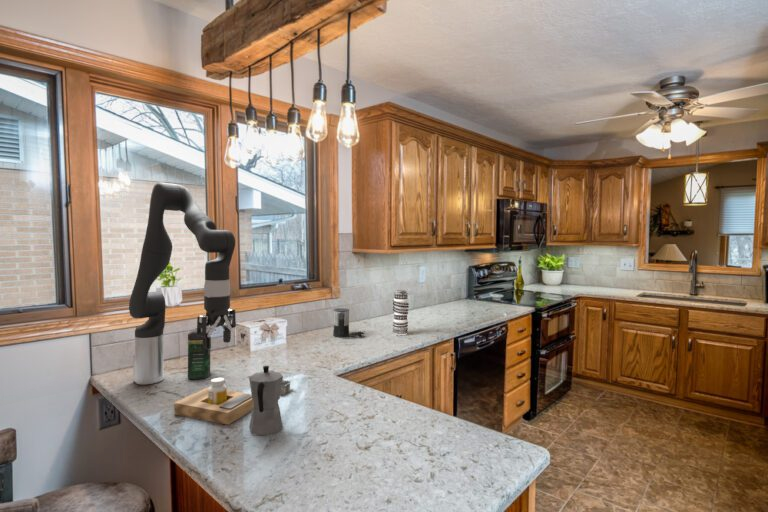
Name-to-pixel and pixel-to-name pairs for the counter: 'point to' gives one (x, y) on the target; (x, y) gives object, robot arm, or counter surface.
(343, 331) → the milk frother
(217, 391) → the supplement bottle
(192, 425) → the counter surface
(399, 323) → the grey striped cylinder
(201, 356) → the coffee jar
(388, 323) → the counter surface
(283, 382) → the egg carton
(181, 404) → the jig
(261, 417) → the coffeepot
